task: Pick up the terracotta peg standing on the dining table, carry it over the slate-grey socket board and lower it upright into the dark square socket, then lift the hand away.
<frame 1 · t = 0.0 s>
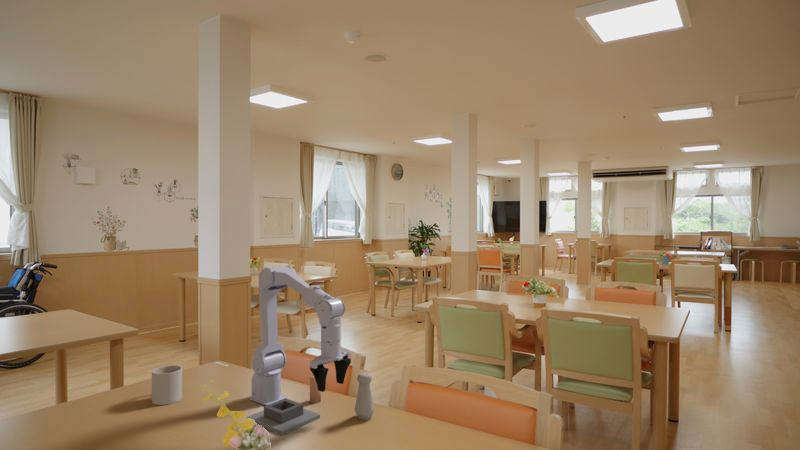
hand: (331, 386, 132), 10 cm above the table, fingers open, 7 cm apart
salt shaker: (364, 417, 135), on the table
peg: (315, 401, 147), on the table
grey cup: (167, 399, 150), on the table
socket board: (283, 419, 134), on the table
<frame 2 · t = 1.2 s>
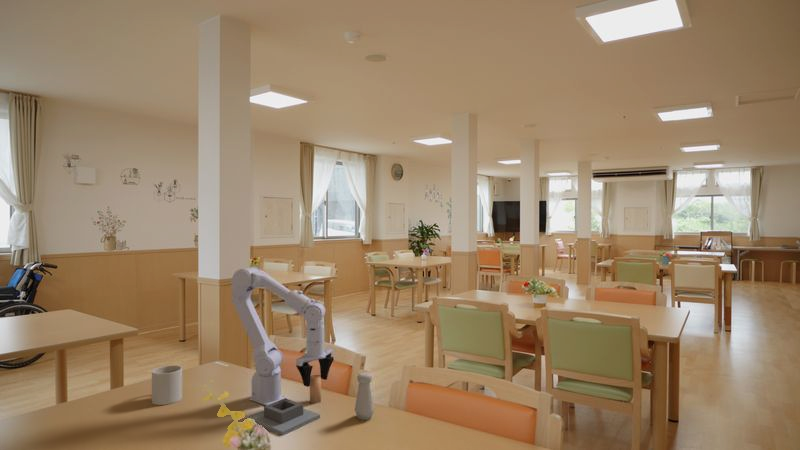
hand: (315, 382, 147), 6 cm above the table, fingers open, 7 cm apart
nothing on the table moved.
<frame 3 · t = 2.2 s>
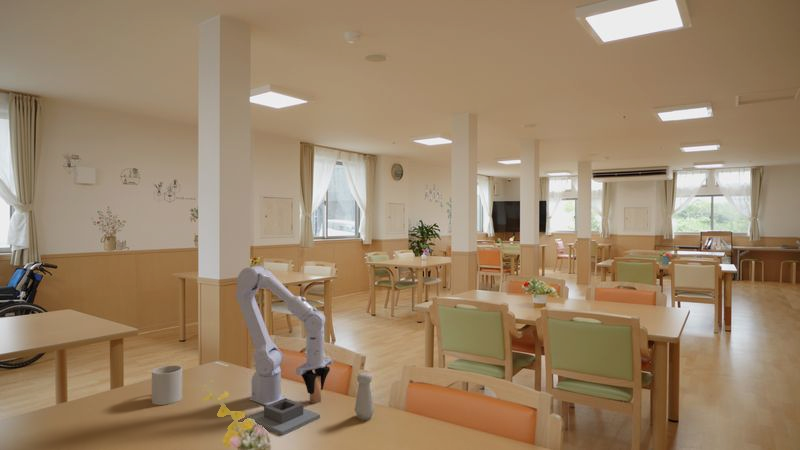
hand: (315, 391, 147), 3 cm above the table, fingers closed on peg, 3 cm apart
peg: (315, 401, 147), on the table, touching gripper
everything else where it was.
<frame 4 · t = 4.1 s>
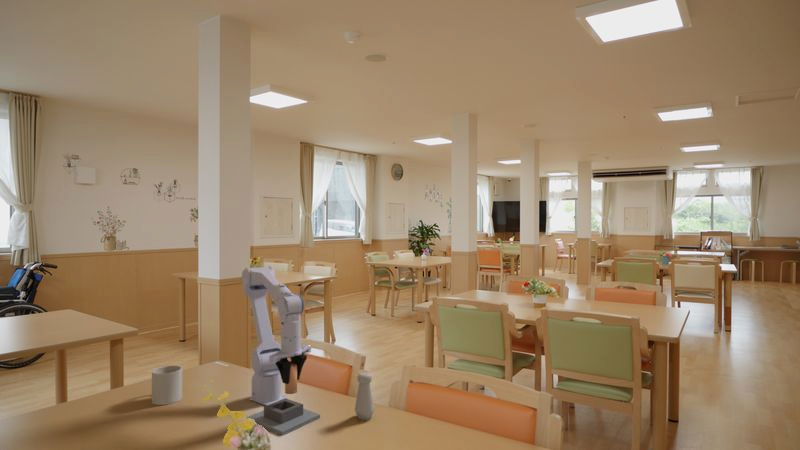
hand: (290, 381, 137), 10 cm above the table, fingers closed on peg, 3 cm apart
peg: (291, 391, 137), point 7 cm above the table, touching gripper
everything else where it was.
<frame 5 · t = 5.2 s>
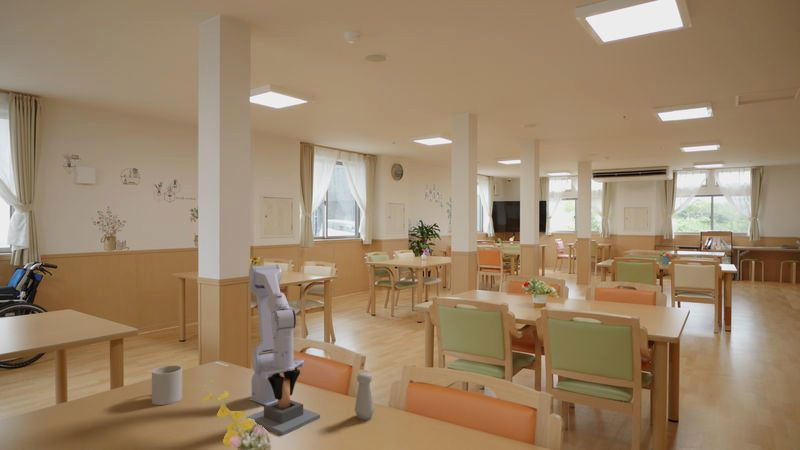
hand: (283, 396, 134), 7 cm above the table, fingers closed on peg, 3 cm apart
peg: (283, 407, 134), point 3 cm above the table, touching gripper
everything else where it was.
when the fingers open (5 cm above the table, at t = 5.9 s): peg stays where it is, resting on socket board.
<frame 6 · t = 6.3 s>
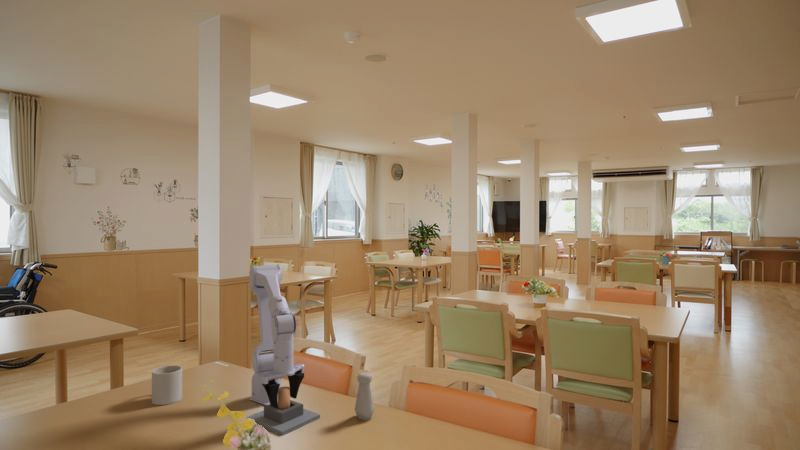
hand: (283, 401, 134), 5 cm above the table, fingers open, 7 cm apart
peg: (283, 415, 134), point 1 cm above the table, touching socket board
everything else where it was.
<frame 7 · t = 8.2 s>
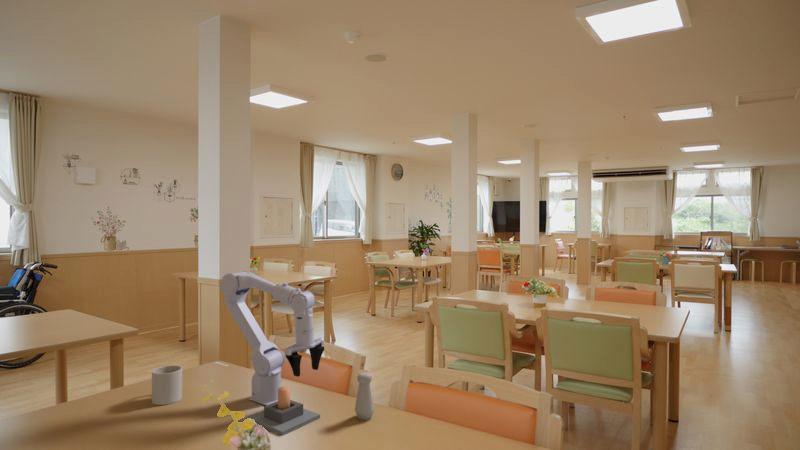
hand: (306, 372, 145), 10 cm above the table, fingers open, 7 cm apart
nothing on the table moved.
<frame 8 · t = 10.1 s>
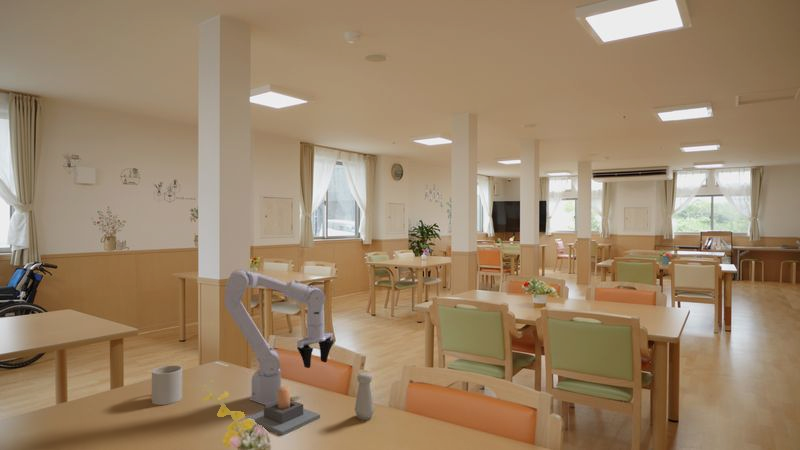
hand: (315, 364, 153), 10 cm above the table, fingers open, 7 cm apart
nothing on the table moved.
at the end: peg 0.1 cm off-centre on the socket board, point 1.0 cm above the socket board's base; peg tilted 0°; the gripper is holding nothing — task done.
